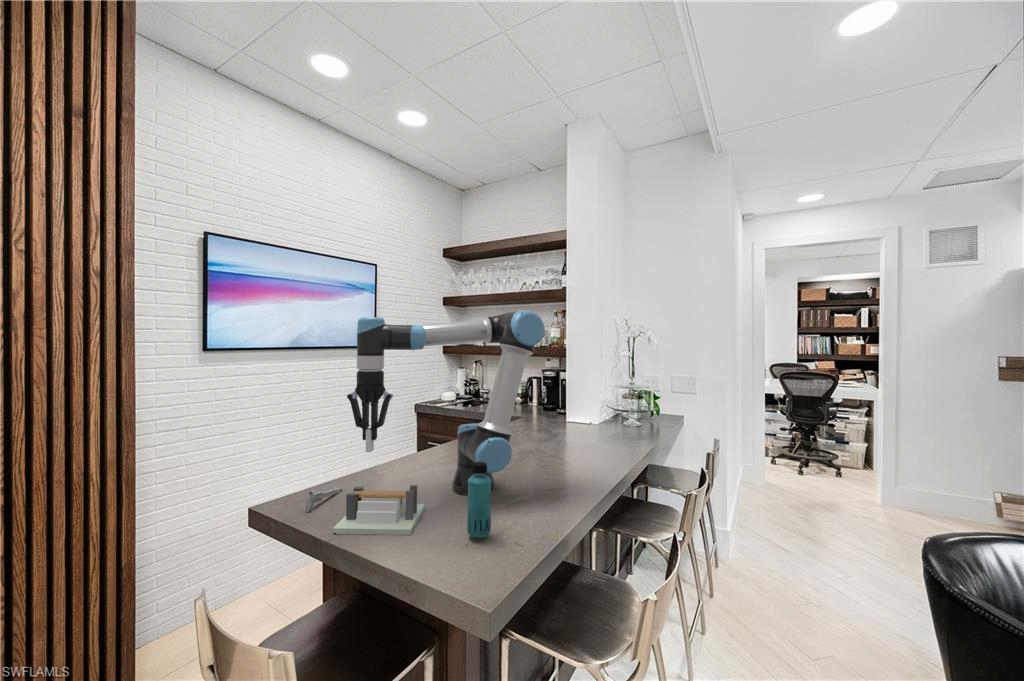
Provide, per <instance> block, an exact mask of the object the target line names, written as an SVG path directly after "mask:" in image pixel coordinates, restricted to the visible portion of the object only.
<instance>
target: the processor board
mask: <svg viewBox="0 0 1024 681" xmlns="http://www.w3.org/2000/svg"><path fill="white" fill-rule="evenodd" d="M355 490H361V491H364V486H355V487H353V492H354V491H355ZM405 491H406V498H359V501H358V503H357V493H353V492H347V494H346V496H345V497H346V499H345V500H346V502H345V503H346V505H345V506H346V507H345V510H346V511H345V515H344V517H342V519H340V520H339V521H338V522H337V524H336V525H335V526H334V527H333V528H332V534H333V533H336V534H335V535H372V534H377V535H381V536H383V535H385V536H386V535H387V536H392V535H393V536H411V535H412V533H413V531H414V530H415V527H417V524H418V522H419V520H420V519H421V516H422V515H423V513H424V511H425V507H426V506H425V505H426V504H425V503H418V484H409V489H408V490H405ZM414 491H415V495H414ZM377 535H376V536H377Z"/></svg>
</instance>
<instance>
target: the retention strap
mask: <svg viewBox="0 0 1024 681" xmlns="http://www.w3.org/2000/svg"><path fill="white" fill-rule="evenodd" d="M406 491H407V490H363V491H361V490H355V491H354V492H352V493H357V503H358V501H359V498H406ZM414 495H415V491H414Z"/></svg>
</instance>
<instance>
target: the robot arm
mask: <svg viewBox="0 0 1024 681" xmlns="http://www.w3.org/2000/svg"><path fill="white" fill-rule="evenodd" d="M356 328H357V331H356V369H357V370H358V371H357V372H356V387H355V389H354V391H353V392H351V393H349V394H347V396H346V398H347V400H348V401H349V402H350V407H351V409H352V410H351V411H352V413H353V414H352V415H353V419H354V422H355V427H357V428H360V429H361V430H362V436H361V437H362V441H365V453H372V452H373V451H374V450H375V440H377V438H378V428H381V427H383V426H384V425H385V421H386V418H387V413H388V409H389V405H390V402H391V400H392V398H393V397H394V394H393V393H389V392H388V391H386V388H385V385H384V383H385V380H384V379H385V372H384V370H383V369H384V368H385V350H387V351H390V350H391V351H392V350H393V351H395V350H396V351H400V350H401V351H417V350H418V351H419V350H420V351H421V350H423V349H424V348H425V347H431V346H432V347H433V346H444V345H456V344H464V343H465V344H467V343H468V344H469V343H477V342H479V343H480V342H484V343H485V344H499V347H500V348H501V351H502V352H501V355H500V360H499V363H498V366H497V371H496V374H495V377H494V382H493V385H492V388H491V392H490V395H489V400H488V402H487V403H488V404H487V407H486V411H485V414H484V418H483V420H482V421H481V422H479V423H478V422H476V423H475V422H474V423H465V424H460V425H459V426H458V427H457V434H456V435H457V464H456V465H457V466H456V467H457V468H456V470H455V474H454V476H453V479H452V483H451V490H452V491H453V492H454V493H456V494H459V495H463V496H468V479H469V478H470V477H471V476H472V475H474V474H486V475H487V476H488V477H489V478H490V479H491V491H492V490H493V489H494V490H495V488H496V486H495V484H496V483H495V479H494V473H498V472H500V471H503V470H504V469H505V468H506V467H507V466H508V465H509V464H510V462H511V459H512V456H513V449H512V446H511V444H510V441H511V437H512V432H511V429H510V428H509V427H510V423H511V419H512V415H513V412H514V407H515V404H516V401H517V396H518V393H519V390H520V385H521V382H522V378H523V374H524V370H525V366H526V363H527V359H528V358H529V357H530V356H532V355H533V354H534V350H535V347H536V345H538V344H539V343H541V341H542V339H543V338H544V335H545V325H544V322H543V320H542V318H541V317H540V316H539V314H537V313H536V312H535V311H532V310H524V309H522V310H518V311H510V312H509V311H508V312H505V313H502V314H499V315H493V316H484V317H483V318H482V319H479V320H467V321H466V320H464V321H451V322H450V321H449V322H436V323H425V324H424V323H423V324H387V323H385V318H383V317H374V316H373V317H372V316H368V317H367V316H364V317H363V316H362V317H360V318H359V319H358V320H357V327H356ZM382 397H383V398H382ZM358 398H359V400H361V406H362V407H361V409H360V404H359V400H358ZM381 398H382V399H383V400H382V405H381V408H380V413H379V400H380V399H381ZM475 462H485V463H486V464H487V472H485V473H474V472H472V465H473V463H475ZM494 487H495V488H494ZM494 490H493V491H494ZM493 491H492V492H493Z"/></svg>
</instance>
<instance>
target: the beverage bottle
mask: <svg viewBox="0 0 1024 681" xmlns="http://www.w3.org/2000/svg"><path fill="white" fill-rule="evenodd" d="M472 472H474V473H485V472H487V464H486V463H485V462H475V463H473V465H472ZM491 504H492V492H491V479H490V478H489V477H488V476H487V475H486V474H474V475H472V476H471V477H470V478H469V479H468V495H467V509H466V510H467V522H466V523H467V525H466V526H467V529H466V531H467V534H468V536H469V537H473V538H485V537H487V536H489V535H490V534H491V526H492V523H491V522H492V515H491V514H492V507H491V506H492V505H491Z"/></svg>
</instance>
